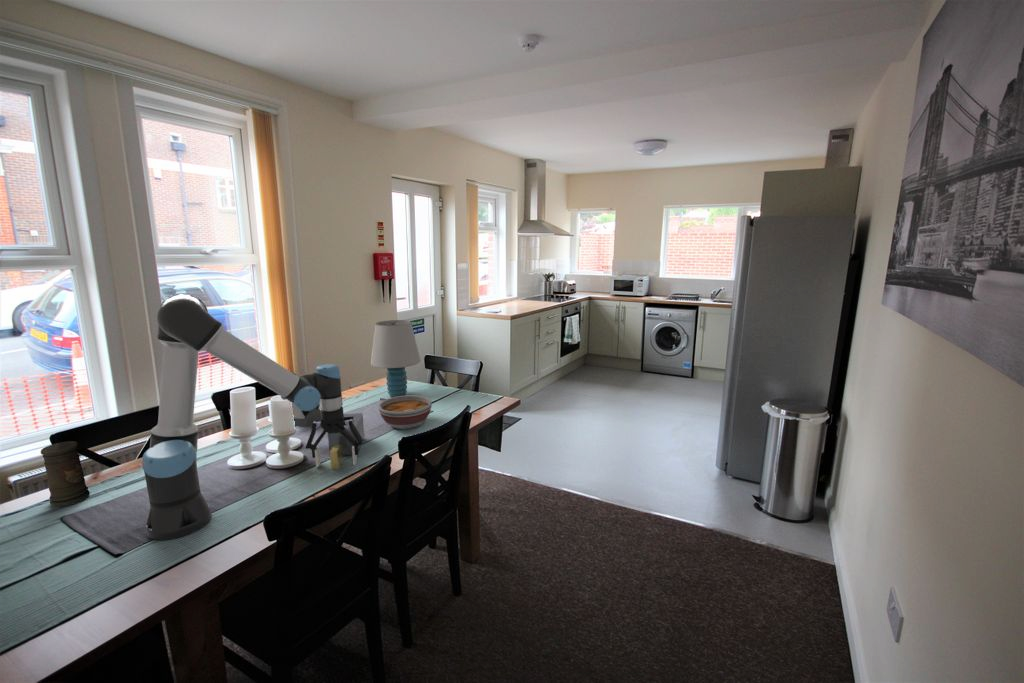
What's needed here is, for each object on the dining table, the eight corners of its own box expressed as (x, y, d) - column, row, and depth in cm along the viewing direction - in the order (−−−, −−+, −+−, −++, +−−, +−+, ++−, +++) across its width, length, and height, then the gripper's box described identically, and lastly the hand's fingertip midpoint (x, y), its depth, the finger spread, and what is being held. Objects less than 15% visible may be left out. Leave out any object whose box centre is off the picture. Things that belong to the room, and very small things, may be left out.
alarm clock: (307, 428, 203) (303, 388, 199) (286, 427, 204) (281, 387, 201) (327, 415, 218) (324, 378, 215) (307, 414, 220) (303, 377, 216)
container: (43, 509, 141) (30, 454, 138) (62, 494, 150) (51, 442, 146) (79, 504, 143) (67, 450, 140) (96, 490, 152) (85, 438, 148)
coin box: (364, 438, 192) (362, 413, 190) (357, 455, 176) (355, 427, 174) (339, 439, 191) (337, 414, 188) (329, 457, 175) (327, 429, 173)
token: (338, 468, 166) (336, 451, 165) (331, 468, 166) (329, 451, 164) (342, 460, 172) (340, 444, 171) (335, 461, 172) (333, 444, 170)
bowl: (437, 429, 200) (436, 407, 198) (383, 438, 192) (381, 415, 190) (426, 412, 221) (426, 392, 219) (377, 419, 213) (375, 398, 211)
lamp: (407, 385, 265) (404, 317, 257) (430, 396, 246) (427, 322, 238) (365, 394, 249) (359, 322, 241) (385, 406, 230) (380, 328, 222)
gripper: (368, 402, 170) (372, 457, 174) (298, 406, 166) (304, 461, 171) (365, 409, 162) (369, 466, 167) (292, 413, 159) (298, 471, 163)
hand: (336, 464), depth 169 cm, fingers open, 12 cm apart
